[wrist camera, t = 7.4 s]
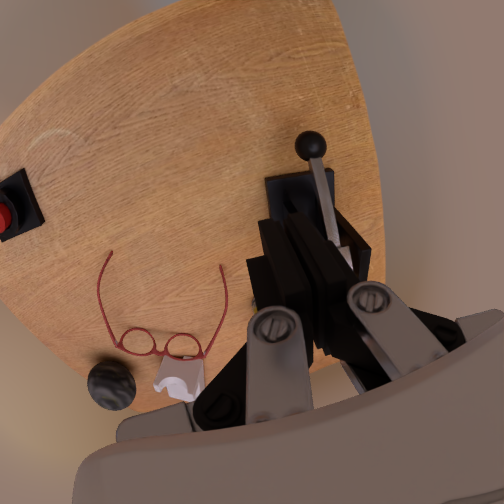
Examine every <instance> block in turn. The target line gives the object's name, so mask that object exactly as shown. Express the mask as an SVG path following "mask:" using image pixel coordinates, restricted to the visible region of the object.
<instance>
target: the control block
mask: <svg viewBox="0 0 504 504" xmlns="http://www.w3.org/2000/svg"><path fill="white" fill-rule="evenodd" d="M0 203H4V204H5V205H6V206H7V207H8V209H9V211H10V213H11V217H12V220H11V224H10V225H9V226H8V227H7V228H6V229H5V230H4V232H2V233H0V240H1V242H4V241H6V240H9V239H11V238H13V237H15V236H18V235H20V234H22V233H24V232H27V231H29V230H32V229H34V228H36V227H39V226H41V225H42V224H43V223H44V222H45V220H44V217H43V215H42V213H41V211H40V208H39V206H38V203H37V201H36V199H35V196H34V194H33V191H32V188H31V186H30V183H29V180H28V178H27V175H26V172H25V169H24V168H23V169H21V170H20V171H18V172H16V173H15V174H13V175H12V176H10V177H8V178H7V179H5V180H4V181H2V182H1V183H0Z"/></svg>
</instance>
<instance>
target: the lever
mask: <svg viewBox="0 0 504 504" xmlns="http://www.w3.org/2000/svg"><path fill="white" fill-rule="evenodd" d="M326 149H327V144H326V141H325V139H324V137H323V136H322V135H321V134H320V133H318V132H316V131H304V132H302V133H301V134H299V135H298V137H297V138H296V140H295V151H296V153H297V155H298V156H299V157H300V158H301V159H303V160H305V161H308V165H309V169H310V173H311V178H312V182H313V186H314V190H315V195H316V199H317V204H318V208H319V213H320V218H321V222H322V227H323V232H324V237H325V241H327V240H332V241H333V243H334V244H335V245H336V247H337V248H338V250H339V251H340V252H341V254H342V255H343V257H344V258H345V260H346V261H347V262H348V264H349V265H350V267H351V268H352V270H353V264H352V258H351V252H350V246H341V244H340V239H339V233H338V228H337V223H336V218H335V214H334V209H333V204H332V200H331V195H330V191H329V187H328V183H327V179H326V175H325V171H324V167H323V163H322V159H321V158H322V157H323V156H324V155H325V153H326Z"/></svg>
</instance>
